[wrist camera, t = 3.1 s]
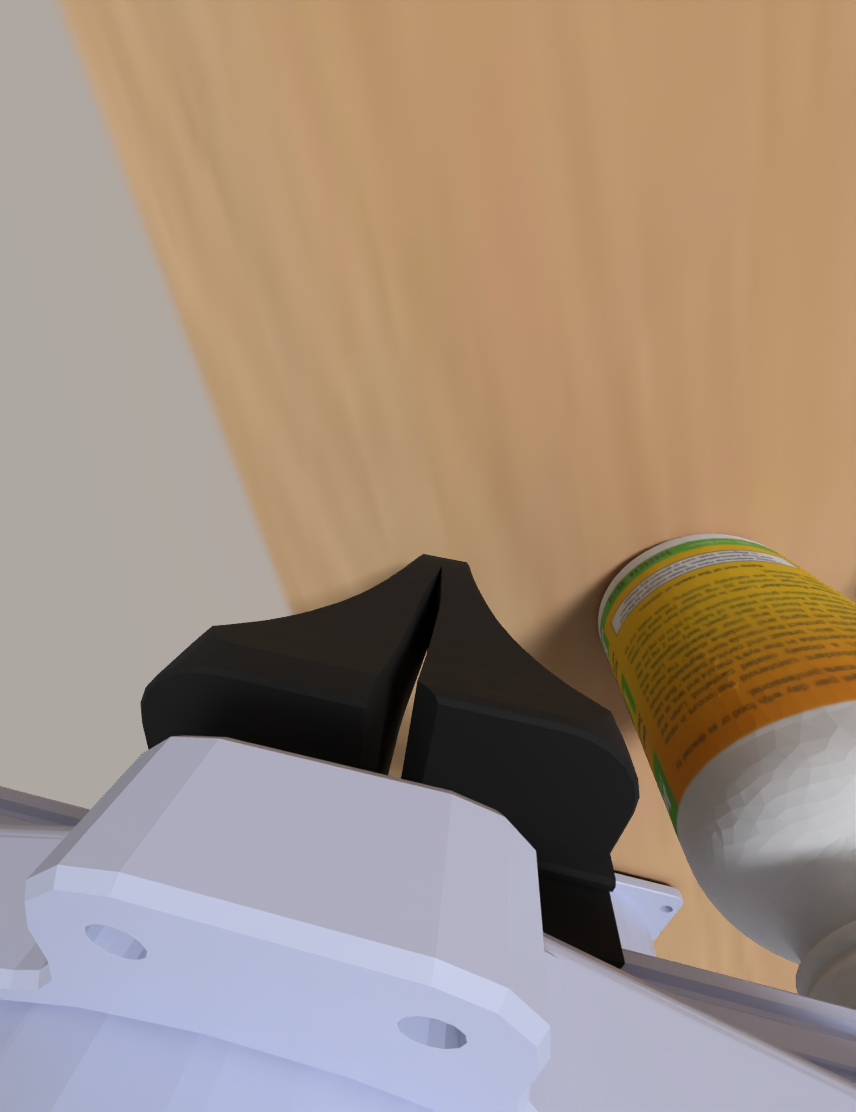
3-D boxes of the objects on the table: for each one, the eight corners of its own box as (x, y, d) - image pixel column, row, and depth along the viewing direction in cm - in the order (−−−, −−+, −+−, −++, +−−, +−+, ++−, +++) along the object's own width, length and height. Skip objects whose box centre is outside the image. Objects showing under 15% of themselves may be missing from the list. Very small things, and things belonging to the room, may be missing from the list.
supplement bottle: (558, 613, 13) (685, 1112, 4) (707, 489, 11) (1631, 1001, 2) (672, 706, 14) (977, 1285, 5) (833, 608, 12) (1882, 1342, 3)
